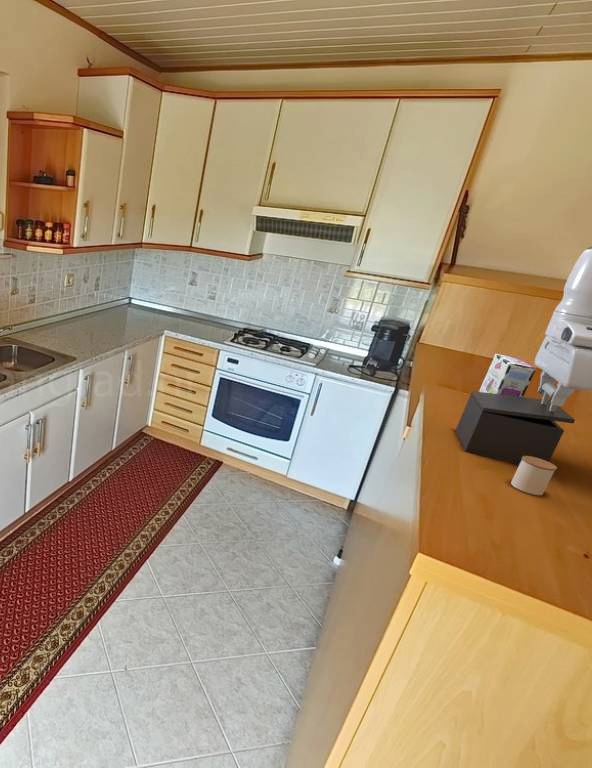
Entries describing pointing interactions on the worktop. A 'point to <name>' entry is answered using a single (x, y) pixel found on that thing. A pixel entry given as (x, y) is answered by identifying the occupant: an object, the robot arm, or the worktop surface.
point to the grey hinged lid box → (506, 435)
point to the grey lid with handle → (523, 405)
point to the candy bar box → (507, 376)
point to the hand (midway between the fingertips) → (549, 399)
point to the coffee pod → (533, 475)
